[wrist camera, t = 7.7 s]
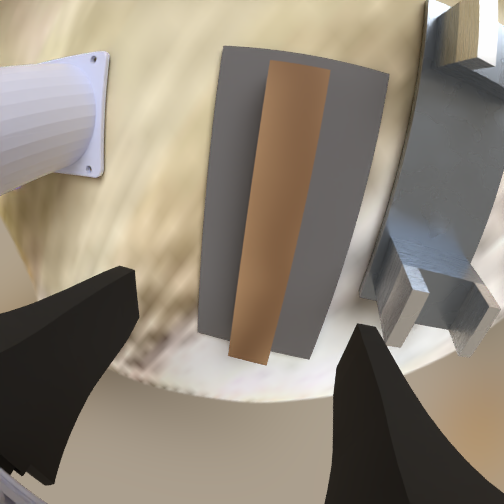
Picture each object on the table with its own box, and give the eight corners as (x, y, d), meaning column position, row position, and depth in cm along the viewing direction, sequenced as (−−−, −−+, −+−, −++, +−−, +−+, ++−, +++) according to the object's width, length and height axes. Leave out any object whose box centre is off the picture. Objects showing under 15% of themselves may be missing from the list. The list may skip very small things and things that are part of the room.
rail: (237, 330, 20) (228, 355, 18) (278, 67, 12) (270, 59, 10) (272, 339, 20) (266, 365, 18) (328, 75, 12) (330, 69, 10)
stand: (358, 291, 17) (366, 358, 13) (425, 0, 9) (466, -36, 4) (442, 308, 17) (466, 371, 12) (517, 47, 8) (576, 40, 4)
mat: (199, 328, 21) (197, 332, 21) (225, 46, 13) (223, 45, 12) (309, 355, 20) (309, 359, 20) (387, 75, 12) (389, 74, 11)
